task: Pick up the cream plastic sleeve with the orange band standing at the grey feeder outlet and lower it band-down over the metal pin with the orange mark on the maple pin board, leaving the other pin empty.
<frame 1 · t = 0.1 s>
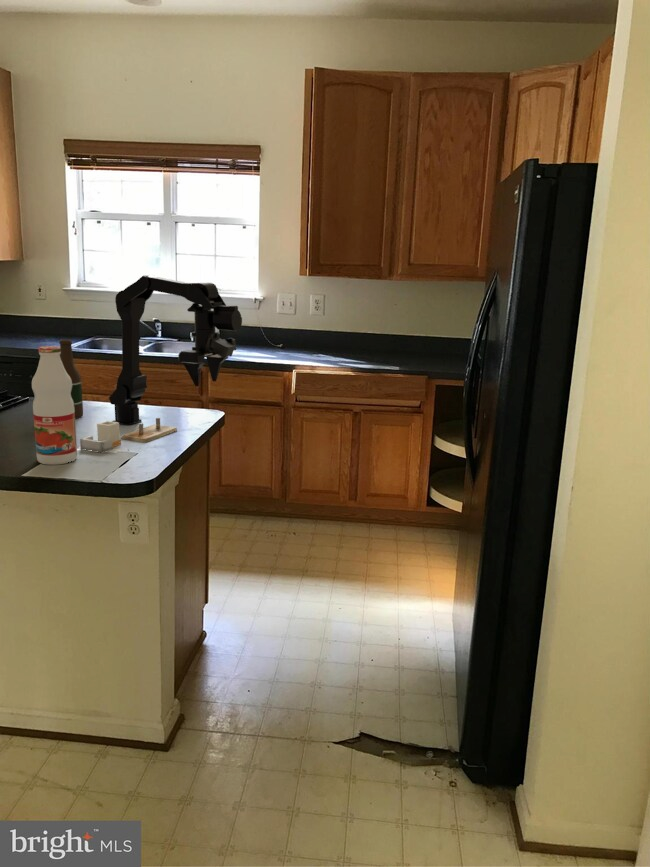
hand: (205, 383, 197), 15 cm above the countertop, tool pointing down, fingers open, 9 cm apart
fruit juice: (57, 460, 171), on the countertop
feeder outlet: (96, 449, 181), on the countertop
beer bottle: (70, 417, 216), on the countertop
sleeve: (109, 444, 186), on the countertop
pin board: (150, 434, 197), on the countertop
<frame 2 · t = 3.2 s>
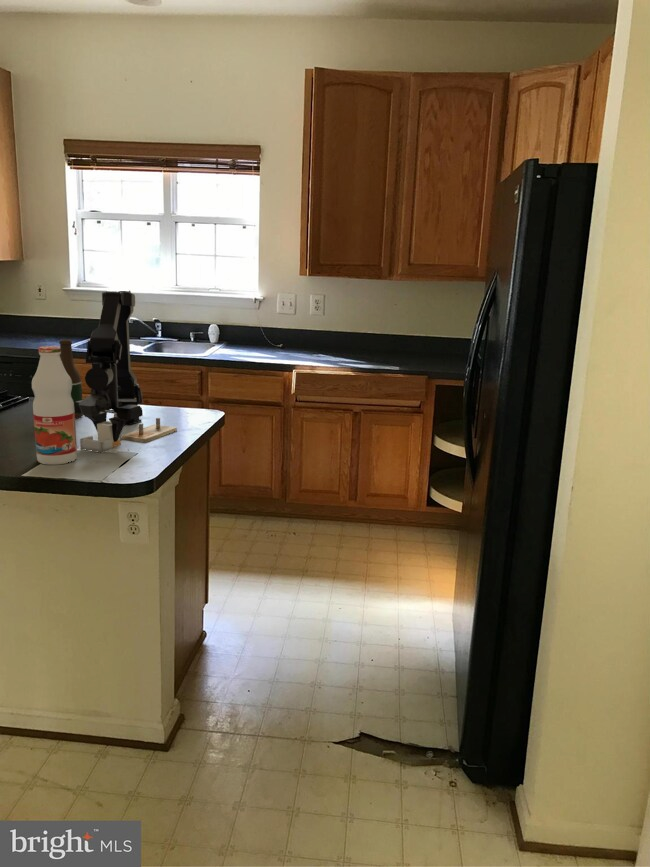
hand: (108, 440, 186), 1 cm above the countertop, tool pointing down, fingers closed on sleeve, 4 cm apart
sleeve: (109, 444, 186), on the countertop, touching gripper
everything else where it was.
when the fingers open (4 cm above the countertop, at t = 6.6 s): sleeve drops 1 cm, resting on pin board.
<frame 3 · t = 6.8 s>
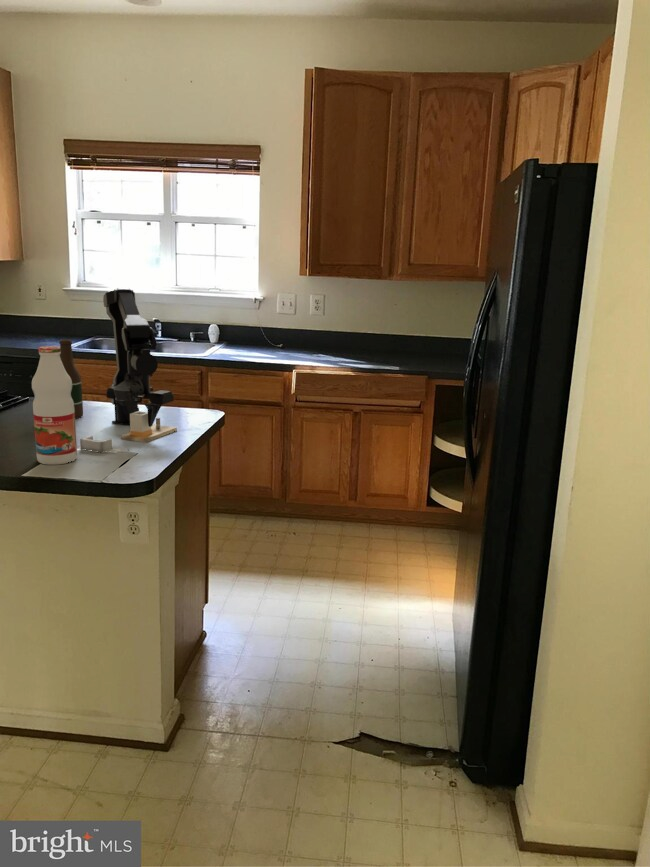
hand: (140, 425, 193), 4 cm above the countertop, tool pointing down, fingers open, 6 cm apart
sleeve: (141, 434, 194), point 1 cm above the countertop, touching pin board
everything else where it was.
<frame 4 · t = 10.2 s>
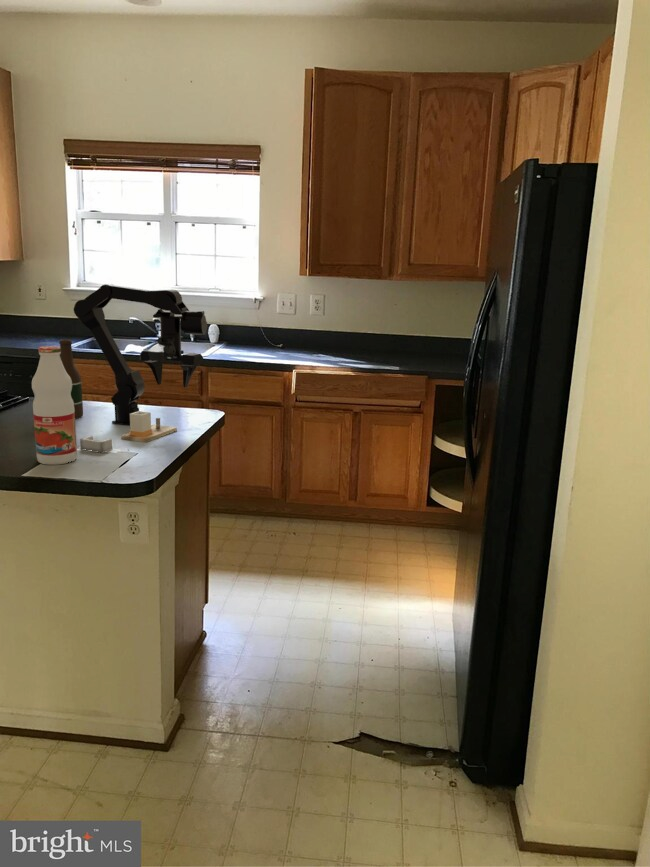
hand: (172, 385, 207), 12 cm above the countertop, tool pointing down, fingers open, 9 cm apart
nothing on the countertop moved.
at the end: sleeve 0.0 cm from the target spot on the pin board, point 1.1 cm above the pin board's base; sleeve tilted 0°; the gripper is holding nothing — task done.
